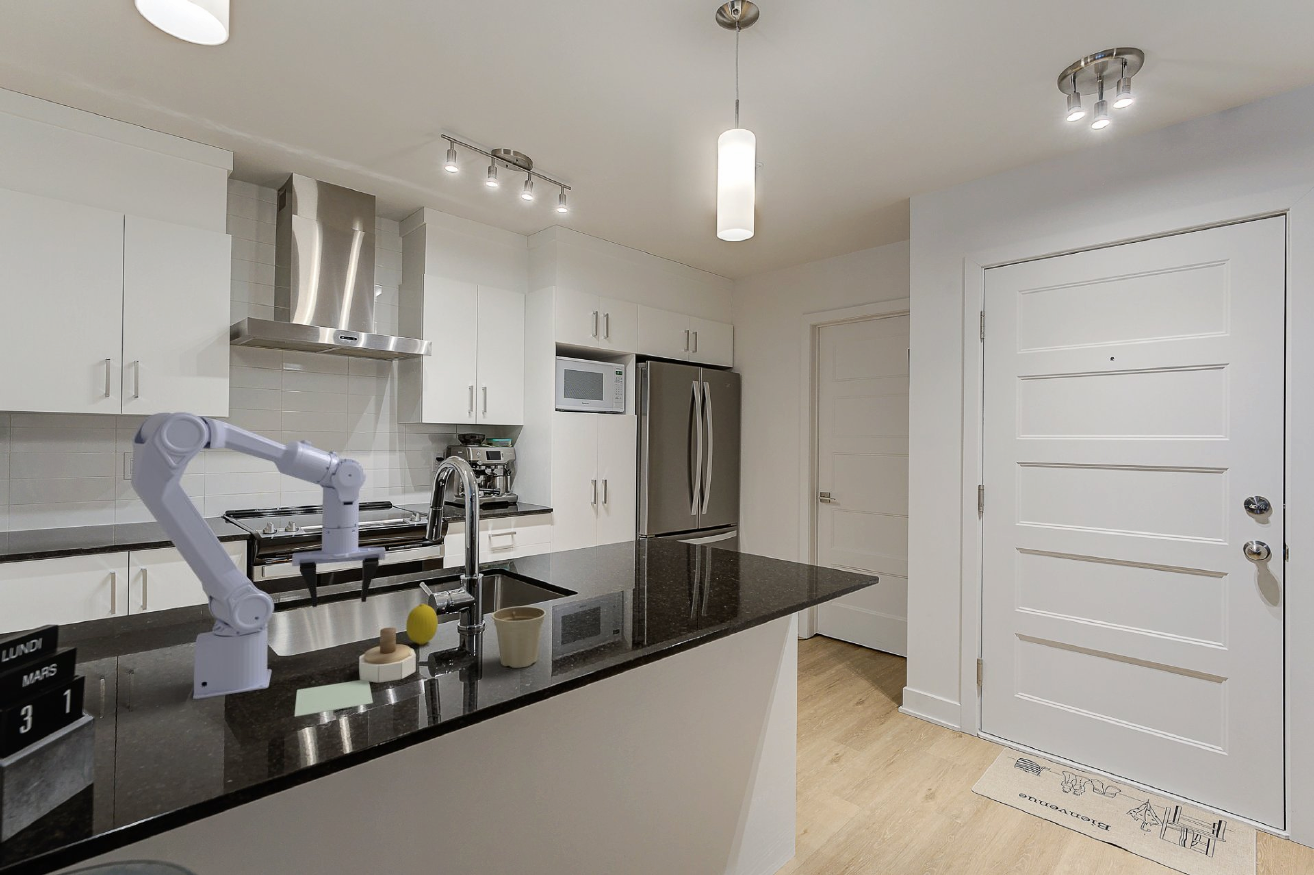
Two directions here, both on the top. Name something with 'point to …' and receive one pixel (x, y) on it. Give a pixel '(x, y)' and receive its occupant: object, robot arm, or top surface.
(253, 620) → the robot arm
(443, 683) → the top surface
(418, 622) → the lemon
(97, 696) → the top surface
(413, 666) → the bowl
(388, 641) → the lid
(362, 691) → the mat
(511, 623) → the flower pot
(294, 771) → the top surface
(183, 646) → the top surface
